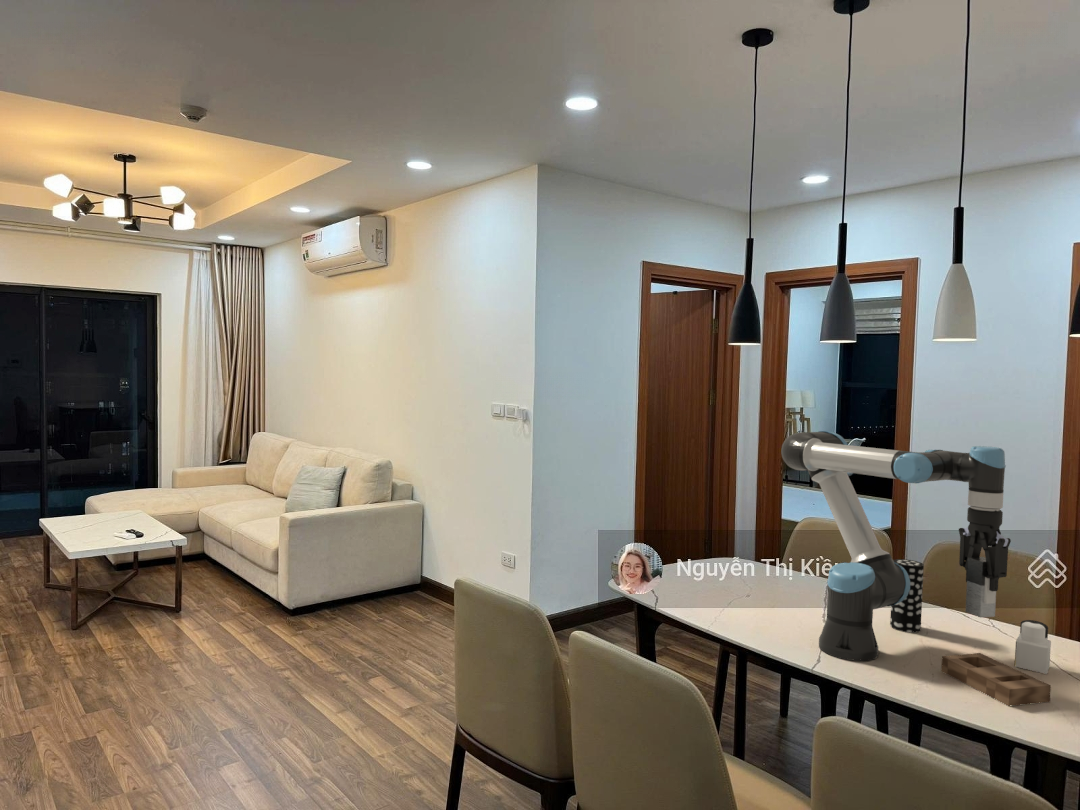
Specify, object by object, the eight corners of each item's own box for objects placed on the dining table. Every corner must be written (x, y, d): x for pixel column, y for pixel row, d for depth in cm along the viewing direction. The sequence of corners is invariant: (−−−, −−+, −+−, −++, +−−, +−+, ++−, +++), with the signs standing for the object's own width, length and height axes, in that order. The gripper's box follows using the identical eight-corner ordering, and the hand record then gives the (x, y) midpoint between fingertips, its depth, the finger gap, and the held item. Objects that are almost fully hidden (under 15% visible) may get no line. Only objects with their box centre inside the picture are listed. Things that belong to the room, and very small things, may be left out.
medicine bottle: (1017, 659, 196) (1019, 615, 195) (1049, 666, 191) (1052, 622, 191) (1014, 667, 190) (1016, 622, 190) (1047, 674, 186) (1049, 629, 185)
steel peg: (980, 617, 179) (982, 561, 179) (965, 611, 184) (968, 557, 183) (994, 616, 180) (997, 561, 180) (980, 610, 185) (982, 556, 184)
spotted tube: (924, 633, 214) (927, 567, 213) (894, 631, 216) (897, 565, 215) (915, 624, 222) (918, 560, 221) (886, 621, 224) (889, 558, 223)
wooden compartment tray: (1008, 706, 167) (1009, 689, 167) (941, 671, 186) (941, 656, 186) (1049, 701, 170) (1050, 685, 170) (979, 667, 189) (980, 652, 189)
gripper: (1028, 514, 173) (1023, 610, 174) (968, 501, 190) (964, 589, 191) (1003, 515, 172) (998, 611, 172) (945, 502, 189) (941, 590, 189)
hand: (980, 599), depth 182 cm, fingers closed on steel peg, 4 cm apart
